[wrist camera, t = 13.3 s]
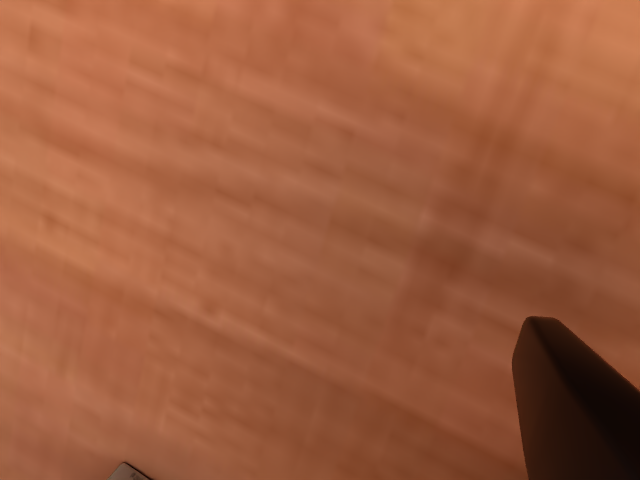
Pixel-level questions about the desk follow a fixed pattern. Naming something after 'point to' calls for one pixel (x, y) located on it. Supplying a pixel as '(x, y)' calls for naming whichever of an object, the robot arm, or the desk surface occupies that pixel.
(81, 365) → the desk surface
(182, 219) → the desk surface
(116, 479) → the coffee box
